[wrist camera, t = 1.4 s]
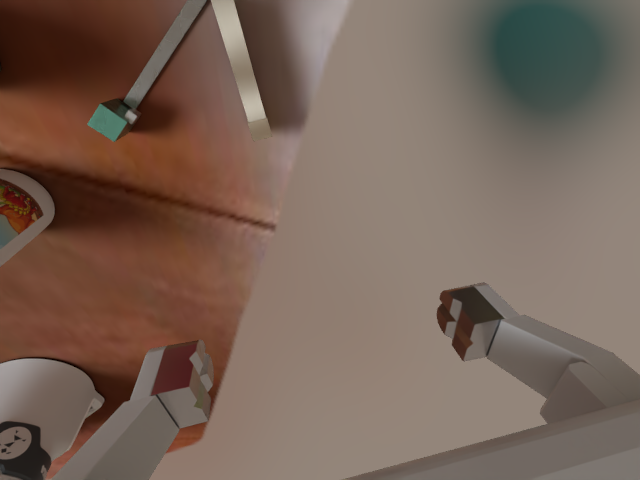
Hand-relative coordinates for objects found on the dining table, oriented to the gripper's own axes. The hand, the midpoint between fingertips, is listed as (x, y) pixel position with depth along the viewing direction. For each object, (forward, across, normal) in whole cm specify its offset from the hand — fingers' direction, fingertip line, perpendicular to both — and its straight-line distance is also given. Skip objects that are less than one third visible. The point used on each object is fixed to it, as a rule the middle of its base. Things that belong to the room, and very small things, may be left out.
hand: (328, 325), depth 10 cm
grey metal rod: (+31, +9, -9) cm, 33 cm away
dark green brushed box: (+30, +16, -3) cm, 34 cm away
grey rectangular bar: (+30, +2, -7) cm, 31 cm away
